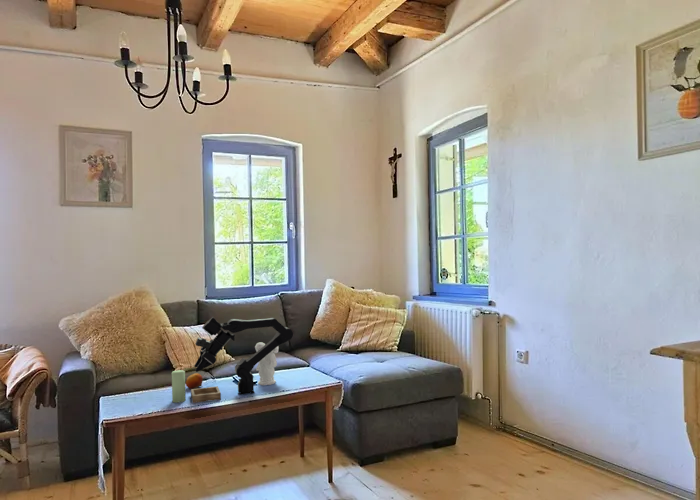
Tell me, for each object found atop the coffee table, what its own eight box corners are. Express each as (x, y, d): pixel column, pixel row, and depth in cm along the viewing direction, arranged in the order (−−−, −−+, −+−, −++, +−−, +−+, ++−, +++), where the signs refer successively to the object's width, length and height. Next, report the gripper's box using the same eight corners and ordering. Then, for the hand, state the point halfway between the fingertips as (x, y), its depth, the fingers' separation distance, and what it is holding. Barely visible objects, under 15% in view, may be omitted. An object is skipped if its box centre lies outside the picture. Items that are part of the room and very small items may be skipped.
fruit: (201, 387, 246) (193, 372, 247) (188, 395, 247) (180, 380, 248) (209, 382, 254) (201, 368, 254) (197, 390, 255) (189, 376, 256)
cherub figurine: (253, 383, 256) (251, 339, 256) (272, 378, 266) (270, 335, 266) (269, 386, 248) (267, 341, 248) (288, 381, 258) (286, 337, 258)
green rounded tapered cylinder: (185, 398, 233) (184, 369, 233) (185, 401, 228) (185, 372, 228) (172, 399, 231) (171, 371, 231) (172, 403, 226) (171, 373, 226)
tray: (217, 392, 241) (217, 386, 241) (220, 399, 229) (220, 392, 229) (191, 395, 236) (190, 389, 236) (192, 403, 225) (192, 396, 225)
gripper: (204, 328, 243) (181, 354, 239) (207, 334, 225) (181, 362, 222) (222, 342, 246) (199, 368, 242) (226, 349, 228) (201, 377, 224)
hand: (195, 369), depth 233 cm, fingers open, 9 cm apart
